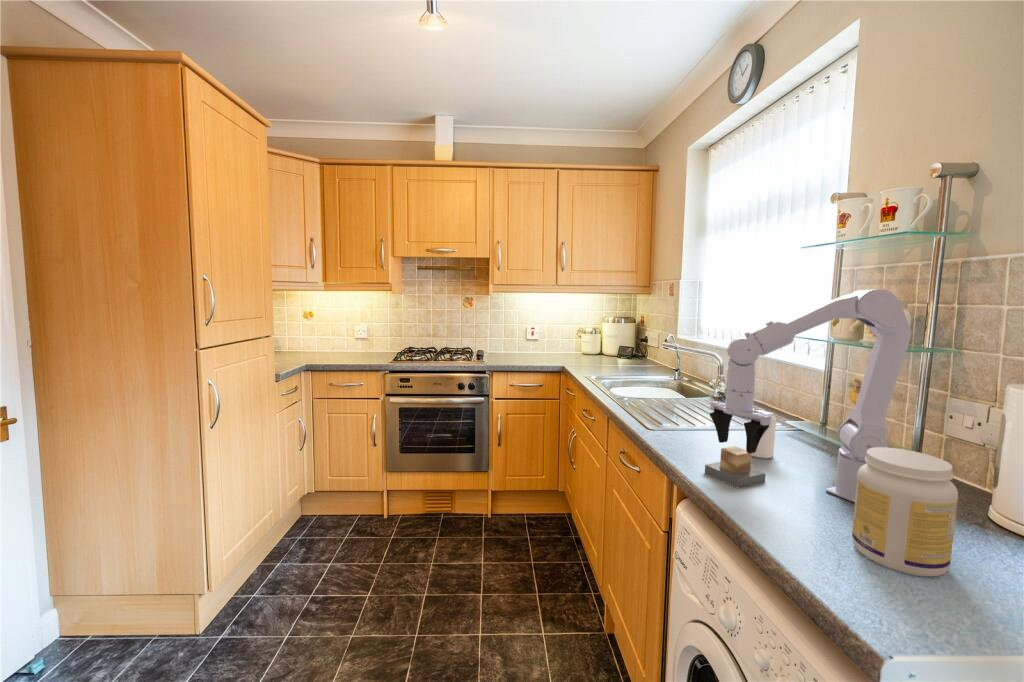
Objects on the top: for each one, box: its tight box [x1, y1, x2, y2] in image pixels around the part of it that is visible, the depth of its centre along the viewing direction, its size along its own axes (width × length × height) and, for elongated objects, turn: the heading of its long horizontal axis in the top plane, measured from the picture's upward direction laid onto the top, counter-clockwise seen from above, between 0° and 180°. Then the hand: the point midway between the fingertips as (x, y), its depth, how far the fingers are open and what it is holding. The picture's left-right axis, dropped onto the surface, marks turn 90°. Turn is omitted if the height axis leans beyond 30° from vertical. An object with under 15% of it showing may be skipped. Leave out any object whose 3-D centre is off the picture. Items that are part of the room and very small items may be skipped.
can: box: [745, 408, 777, 460], centre depth 117 cm, size 6×6×12 cm
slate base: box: [704, 461, 766, 488], centre depth 103 cm, size 9×9×2 cm
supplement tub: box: [851, 447, 959, 577], centre depth 71 cm, size 12×12×17 cm
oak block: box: [719, 445, 752, 474], centre depth 103 cm, size 4×4×4 cm
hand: (736, 446), depth 102 cm, fingers open, 7 cm apart
